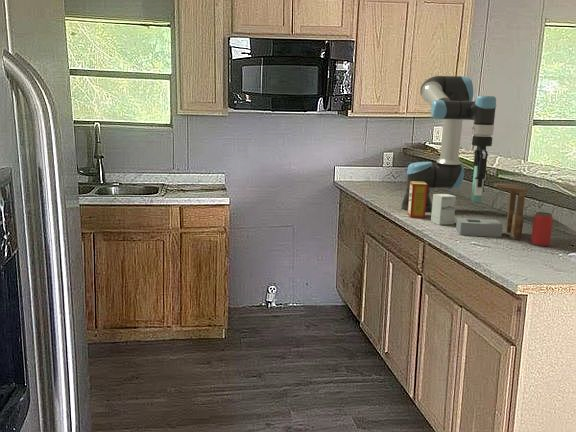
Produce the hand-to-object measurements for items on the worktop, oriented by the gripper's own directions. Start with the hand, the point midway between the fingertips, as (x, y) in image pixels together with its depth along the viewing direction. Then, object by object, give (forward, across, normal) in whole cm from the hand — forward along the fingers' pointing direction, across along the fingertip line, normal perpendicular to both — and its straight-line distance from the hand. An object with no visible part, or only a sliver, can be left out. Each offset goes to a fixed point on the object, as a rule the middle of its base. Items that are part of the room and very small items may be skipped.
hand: (476, 194), depth 223 cm
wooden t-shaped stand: (+16, 0, +12) cm, 20 cm away
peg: (+3, 0, 0) cm, 3 cm away
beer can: (+16, +14, +22) cm, 31 cm away
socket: (+16, 0, +2) cm, 16 cm away
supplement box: (+16, -17, -10) cm, 26 cm away
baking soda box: (+16, -31, -20) cm, 40 cm away
